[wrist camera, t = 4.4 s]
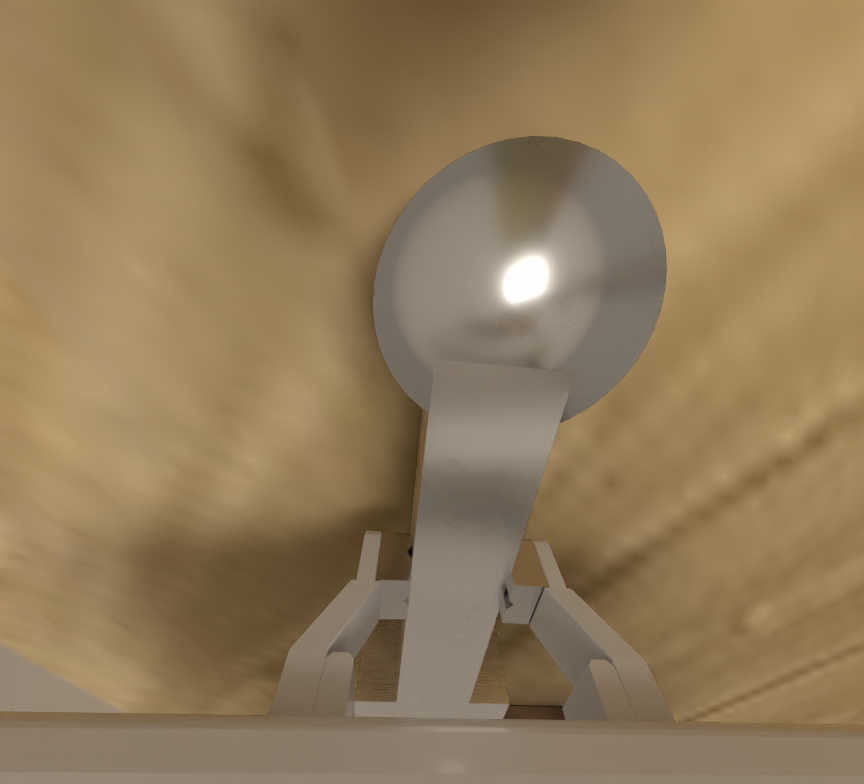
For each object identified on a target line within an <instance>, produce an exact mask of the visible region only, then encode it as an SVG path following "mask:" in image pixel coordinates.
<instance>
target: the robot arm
mask: <svg viewBox="0 0 864 784" xmlns="http://www.w3.org/2000/svg"><path fill="white" fill-rule="evenodd" d="M412 541H413V534H409V533H396V532H383V531H367V530H366V533H365V535H364V540H363V546H362V551H361V556H360V561H359V566H358V572H357V577H356V580H354V579H351V580H350V581H349V582H348V584H347V585H346V586H345V587H344V588H343V589H342V590H341V591H340V593H339V594H338V595H337V596H336V597H335V598H334V599H333V600H332V602H331V603H330V604H329V605H328V606H327V607H326V608H325V610H324V611H323V612H322V613H321V614H320V615H319V616H318V617H317V619H316V620H315V621H314V622H313V623H312V624H311V625H310V626H309V628H308V629H307V630H306V631H305V632H304V633H303V634H302V635H301V637H300V638H299V639H298V640H297V641H296V642H295V643H294V644H293V646H292V647H291V648H290V649H289V652H288V655H287V658H286V661H285V665H284V668H283V671H282V674H281V677H280V680H279V683H278V686H277V689H276V693H275V696H274V699H273V702H272V705H271V708H270V711H269V714H268V715H213V714H148V713H82V712H81V713H80V712H12V711H9V712H8V711H0V784H864V725H850V724H788V723H725V722H676V721H675V719H674V717H673V715H672V713H671V711H670V709H669V707H668V705H667V703H666V701H665V699H664V697H663V695H662V693H661V691H660V689H659V687H658V685H657V683H656V682H655V680H654V678H653V676H652V674H651V672H650V670H649V668H648V666H647V664H646V662H645V660H644V659H643V658H642V657H641V656H640V655H639V654H638V653H637V652H636V651H635V650H634V649H633V648H632V647H631V646H630V645H629V644H628V643H627V642H626V641H625V640H624V639H623V638H622V637H621V636H620V635H618V634H617V633H616V632H615V631H614V630H613V629H612V628H611V627H610V626H609V625H608V624H607V623H606V622H605V621H604V620H603V619H602V618H601V617H600V616H599V615H598V614H597V613H596V612H595V611H594V610H593V609H592V608H591V607H590V606H589V605H588V604H587V603H586V602H585V601H583V600H582V599H581V598H580V597H579V596H578V595H577V594H576V593H575V592H574V591H573V590H572V589H568V588H566V585H565V583H564V580H563V578H562V575H561V573H560V570H559V568H558V565H557V563H556V560H555V558H554V555H553V553H552V550H551V548H550V545H549V543H548V542H547V541H546V540H536V539H522V541H521V544H520V547H519V550H518V553H517V556H516V559H515V563H514V566H513V569H512V572H511V574H510V577H509V580H508V583H507V586H506V590H505V594H504V596H503V599H502V602H501V605H500V608H499V610H500V615H501V620H502V623H514V624H530V625H529V627H530V628H531V629H532V631H533V632H534V634H535V635H536V636H537V638H538V639H539V641H540V642H541V643H542V645H543V646H544V648H545V649H546V650H547V652H548V653H549V655H550V656H551V657H552V659H553V660H554V662H555V663H556V664H557V666H558V667H559V668H560V670H561V671H562V673H563V674H564V675H565V677H566V678H567V680H568V681H569V682H570V684H571V685H572V687H573V688H574V689H573V691H572V692H571V694H570V696H569V697H568V699H567V701H566V703H565V704H564V706H563V708H562V709H563V713H564V716H565V720H537V719H474V718H410V717H352V716H353V709H354V659H355V657H356V656H357V654H358V653H359V651H360V650H361V648H362V646H363V645H364V643H365V642H366V640H367V639H368V637H369V636H370V634H371V632H372V631H373V629H374V628H375V626H376V625H377V623H378V621H379V619H407V614H408V606H409V596H410V588H411V574H412V558H411V553H412Z"/></svg>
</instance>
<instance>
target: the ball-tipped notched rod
mask: <svg viewBox="0 0 864 784" xmlns="http://www.w3.org/2000/svg"><path fill="white" fill-rule="evenodd" d="M666 273H667V267H666V249H665V244H664V238H663V233H662V229H661V226H660V223H659V220H658V217H657V215H656V212H655V210H654V208H653V206H652V204H651V202H650V200H649V199H648V197H647V195H646V193H645V192H644V190H643V189H642V188H641V186H640V185H639V184H638V183H637V181H636V180H635V179H634V177H633V176H632V175H631V174H629V173H628V172H627V171H626V170H625V169H624V168H623V167H622V166H621V165H620V164H619V163H617V162H616V161H614V160H613V159H611V158H610V157H608V156H607V155H605V154H603V153H602V152H600V151H599V150H596V149H594V148H591V147H589V146H587V145H584V144H582V143H579V142H576V141H571V140H566V139H562V138H557V137H541V136H530V137H521V138H512V139H507V140H503V141H500V142H496V143H492V144H489V145H486V146H483V147H481V148H479V149H477V150H474V151H472V152H470V153H468V154H465V155H464V156H462V157H460V158H459V159H457V160H456V161H454V162H452V163H451V164H449V165H448V166H446V167H445V168H443V169H442V170H441V171H440V172H438V173H437V174H436V175H435V176H434V177H432V178H431V179H430V180H429V181H428V182H427V183H425V185H424V186H423V187H422V188H421V189H420V190H419V191H418V192H417V193H416V194H415V196H414V197H413V198H412V199H411V200H410V201H409V203H408V204H407V205H406V207H405V208H404V210H403V211H402V213H401V214H400V216H399V217H398V219H397V220H396V222H395V224H394V226H393V228H392V230H391V232H390V234H389V236H388V238H387V239H386V242H385V245H384V248H383V250H382V253H381V256H380V259H379V262H378V267H377V271H376V276H375V281H374V292H373V318H374V325H375V331H376V336H377V340H378V343H379V347H380V350H381V353H382V356H383V358H384V360H385V362H386V364H387V366H388V368H389V371H390V372H391V374H392V375H393V377H394V378H395V380H396V381H397V383H398V384H399V386H400V387H401V388H402V389H403V390H404V392H405V393H406V394H407V395H408V396H409V397H410V398H411V399H412V400H413V401H414V402H415V403H416V404H417V405H419V406H420V407H421V408H422V418H421V428H420V438H419V448H418V457H417V467H416V477H415V487H414V497H413V507H412V517H411V527H410V534H413V541H412V553H411V558H412V574H411V588H410V596H409V606H408V614H407V619H379V621H378V623H377V625H376V626H375V628H374V629H373V631H372V632H371V634H370V636H369V637H368V639H367V640H366V642H365V643H364V645H363V646H362V651H361V658H360V665H359V672H358V678H357V685H356V692H355V699H354V717H410V718H474V719H503V718H504V715H505V713H506V711H507V709H508V706H509V698H508V693H507V687H506V682H505V676H504V670H503V665H502V659H501V654H500V648H499V643H498V637H497V631H496V626H495V621H496V618H497V615H498V612H499V608H500V605H501V602H502V599H503V596H504V594H505V590H506V586H507V583H508V580H509V577H510V574H511V572H512V569H513V566H514V563H515V559H516V556H517V553H518V550H519V547H520V544H521V541H522V538H523V535H524V532H525V529H526V525H527V522H528V519H529V516H530V513H531V510H532V507H533V504H534V501H535V498H536V494H537V491H538V488H539V485H540V482H541V479H542V476H543V473H544V470H545V467H546V464H547V460H548V457H549V454H550V451H551V448H552V445H553V442H554V439H555V436H556V433H557V429H558V426H559V423H561V422H563V421H565V420H568V419H570V418H572V417H573V416H575V415H577V414H579V413H581V412H583V411H584V410H586V409H587V408H589V407H590V406H592V405H593V404H594V403H596V402H597V401H599V400H600V399H601V398H602V397H604V396H605V395H606V394H607V393H608V392H609V391H611V390H612V389H613V388H614V387H615V386H616V385H617V384H618V383H619V381H620V380H621V379H622V378H623V377H624V376H625V375H626V374H627V372H628V371H629V370H630V369H631V367H632V366H633V365H634V363H635V362H636V361H637V359H638V358H639V356H640V354H641V353H642V351H643V350H644V348H645V346H646V344H647V342H648V340H649V338H650V336H651V334H652V332H653V330H654V328H655V325H656V322H657V319H658V316H659V313H660V310H661V306H662V302H663V297H664V292H665V284H666Z"/></svg>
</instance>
